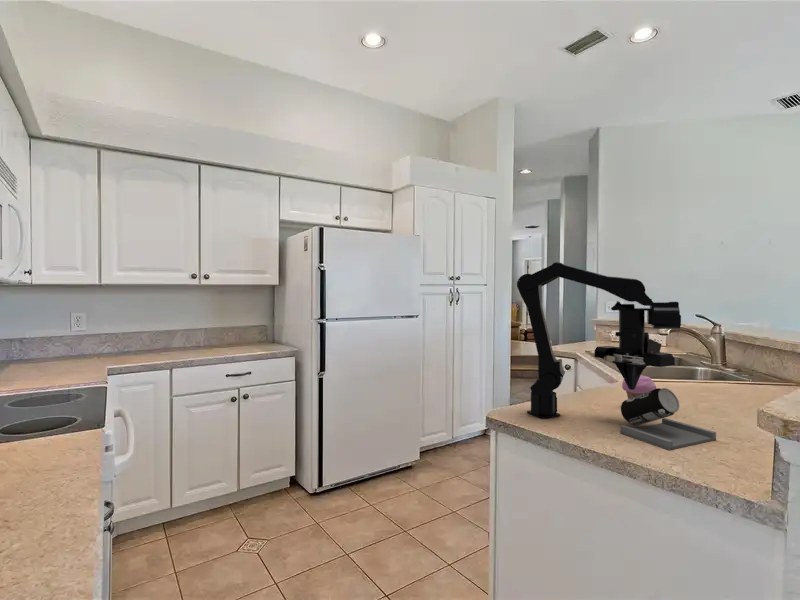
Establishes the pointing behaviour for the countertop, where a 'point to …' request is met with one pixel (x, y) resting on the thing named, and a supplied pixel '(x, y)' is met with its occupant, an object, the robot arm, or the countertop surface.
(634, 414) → the beverage can
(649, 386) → the cupcake
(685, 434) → the grey tray
